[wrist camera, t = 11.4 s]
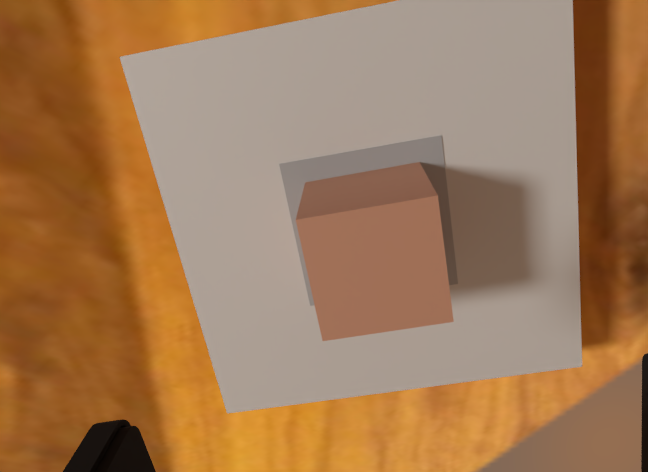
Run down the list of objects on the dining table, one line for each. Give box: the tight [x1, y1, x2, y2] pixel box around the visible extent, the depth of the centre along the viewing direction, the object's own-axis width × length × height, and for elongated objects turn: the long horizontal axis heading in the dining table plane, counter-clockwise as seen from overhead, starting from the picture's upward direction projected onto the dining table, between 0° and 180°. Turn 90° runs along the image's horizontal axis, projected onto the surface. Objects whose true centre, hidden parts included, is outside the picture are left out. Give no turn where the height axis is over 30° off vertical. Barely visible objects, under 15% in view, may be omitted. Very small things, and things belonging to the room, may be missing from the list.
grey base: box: [120, 0, 582, 413], centre depth 26 cm, size 18×18×3 cm
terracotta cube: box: [296, 162, 454, 341], centre depth 22 cm, size 5×5×5 cm
